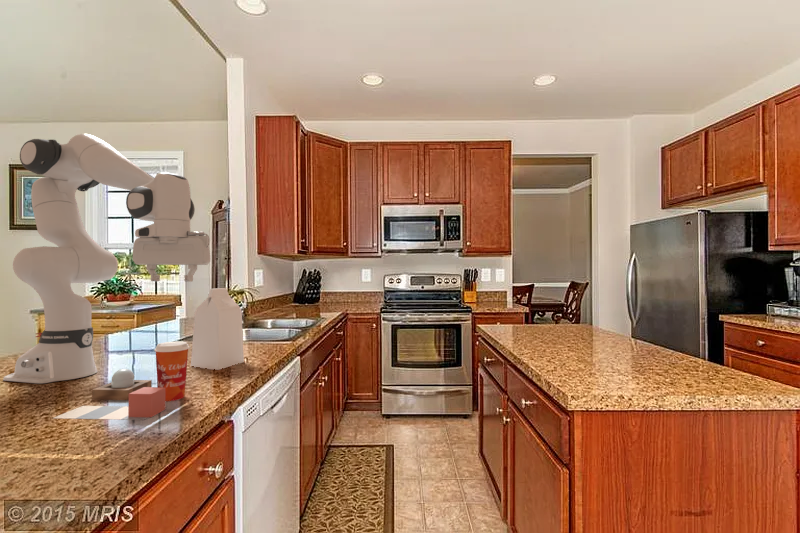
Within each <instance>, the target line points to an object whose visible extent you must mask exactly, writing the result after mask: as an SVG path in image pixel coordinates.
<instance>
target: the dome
mask: <svg viewBox="0 0 800 533" xmlns="http://www.w3.org/2000/svg"><path fill="white" fill-rule="evenodd" d="M134 380H135V374H134V372H133V371H132V370H131V369H129V368H121V369H118V370H116V371H115V372H114V373H113V375H112V376H111V382H112V388H127V387H130V386H132V385H134Z"/></svg>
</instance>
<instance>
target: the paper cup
mask: <svg viewBox="0 0 800 533" xmlns="http://www.w3.org/2000/svg"><path fill="white" fill-rule="evenodd" d="M189 349H191V347H190V346H189V343H188V342H186V341H180V340H179V341H165V342H160V343H158V344H157V345H156V347H155V348H154V350H153V351H154V352H155V366H156V381H157V383H156V384H157V387H165V402H174V401H178V400H181V399H184V398H185V395H186V394H185V393H186V385H187V384H186V383H187V382H186V381H187V371H188V370H187V369H188V354H189Z"/></svg>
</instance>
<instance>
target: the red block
mask: <svg viewBox="0 0 800 533" xmlns="http://www.w3.org/2000/svg"><path fill="white" fill-rule="evenodd" d="M165 407H166V401H165V387H158V386H157V387H156V386H153V387H143V388H141V389H138V390H136V391H134V392H132V393H129V400H128V417H148V418H152V417H154V416H156V415H159V413H162V412H163V411H165V410H166V408H165Z"/></svg>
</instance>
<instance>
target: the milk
mask: <svg viewBox="0 0 800 533" xmlns="http://www.w3.org/2000/svg"><path fill="white" fill-rule="evenodd" d="M193 317H194V318H193V331H192V344H191V358H190V367H191V366H194V367H193V368H196V367H200V368H199V369H205V368H207V369H206V370H214V369H215V371H219V370H222V368H223V369H225V368H228V367H232V365H233V366H235V364H236V365H239V364H242V363H244V362H245V359H244V358H245V357H244V355H245V354H244V338H243V337H244V333H243V332H244V331H243V312H242V308H241V306H239V304H238V303H237V302H235V300H234V299H233V298H232V297H231V296H230V295H229V291H228V289H227V287H224V288H223V287H222V288H220V287H219V288H218V287H217V288H210V289H209V294H208V296H207V297H206V299H205V300H204V301H203V302H201V303H200V305H199V306H198V307H197V308H196V309H195V311H194V316H193ZM238 363H239V364H238Z"/></svg>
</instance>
